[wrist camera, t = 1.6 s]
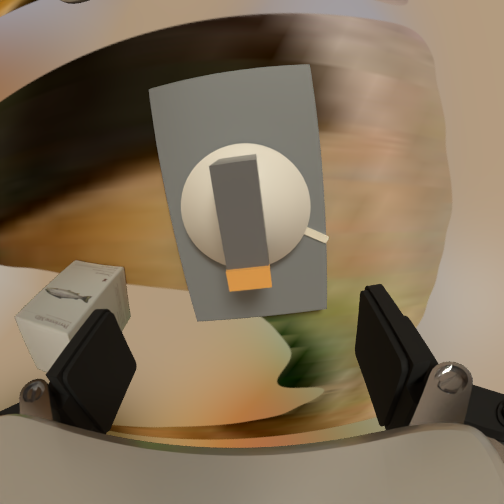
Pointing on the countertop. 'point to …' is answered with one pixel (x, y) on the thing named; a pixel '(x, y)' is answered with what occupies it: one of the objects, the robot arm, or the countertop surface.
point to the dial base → (234, 132)
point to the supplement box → (71, 308)
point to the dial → (245, 211)
